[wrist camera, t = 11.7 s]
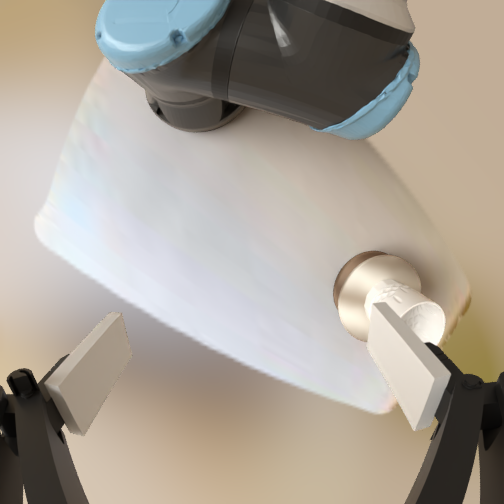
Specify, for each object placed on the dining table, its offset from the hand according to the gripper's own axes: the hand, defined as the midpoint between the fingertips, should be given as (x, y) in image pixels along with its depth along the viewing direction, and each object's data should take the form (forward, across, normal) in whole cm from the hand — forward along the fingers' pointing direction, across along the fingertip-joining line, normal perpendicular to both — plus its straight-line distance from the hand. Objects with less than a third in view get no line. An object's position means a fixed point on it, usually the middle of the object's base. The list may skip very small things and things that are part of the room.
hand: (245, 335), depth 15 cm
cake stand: (+28, +18, -10) cm, 34 cm away
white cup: (+23, +18, -9) cm, 31 cm away
